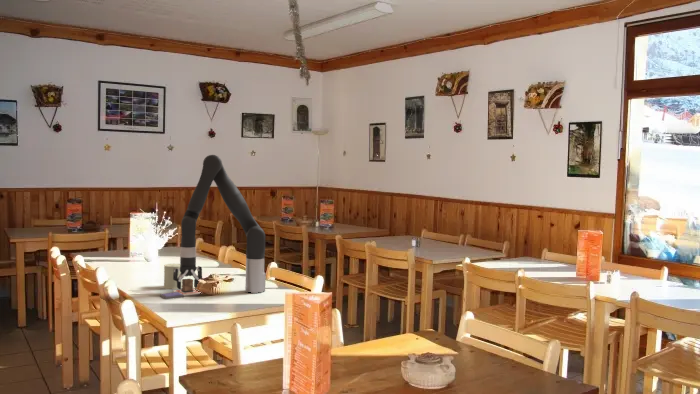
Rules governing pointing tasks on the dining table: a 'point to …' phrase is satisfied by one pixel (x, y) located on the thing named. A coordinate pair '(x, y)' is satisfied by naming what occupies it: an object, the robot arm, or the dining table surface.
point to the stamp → (187, 285)
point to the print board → (187, 292)
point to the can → (170, 276)
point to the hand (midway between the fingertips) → (187, 288)
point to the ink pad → (171, 295)
